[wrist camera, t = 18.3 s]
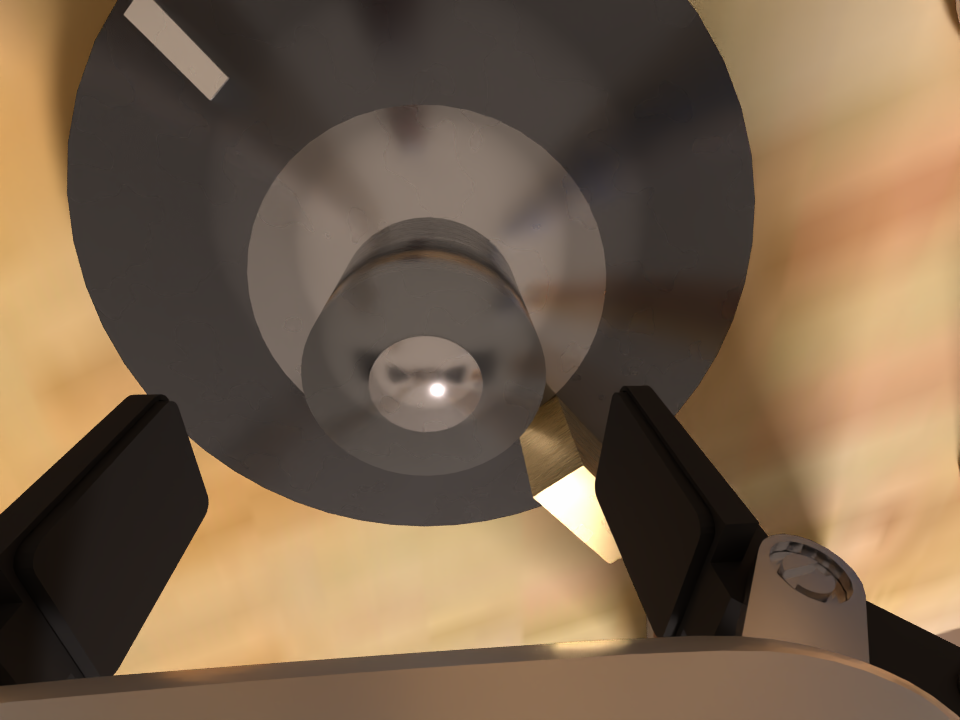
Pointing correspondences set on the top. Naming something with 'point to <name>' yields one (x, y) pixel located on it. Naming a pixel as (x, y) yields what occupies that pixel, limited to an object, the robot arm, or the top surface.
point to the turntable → (409, 215)
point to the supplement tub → (958, 8)
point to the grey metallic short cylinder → (424, 352)
